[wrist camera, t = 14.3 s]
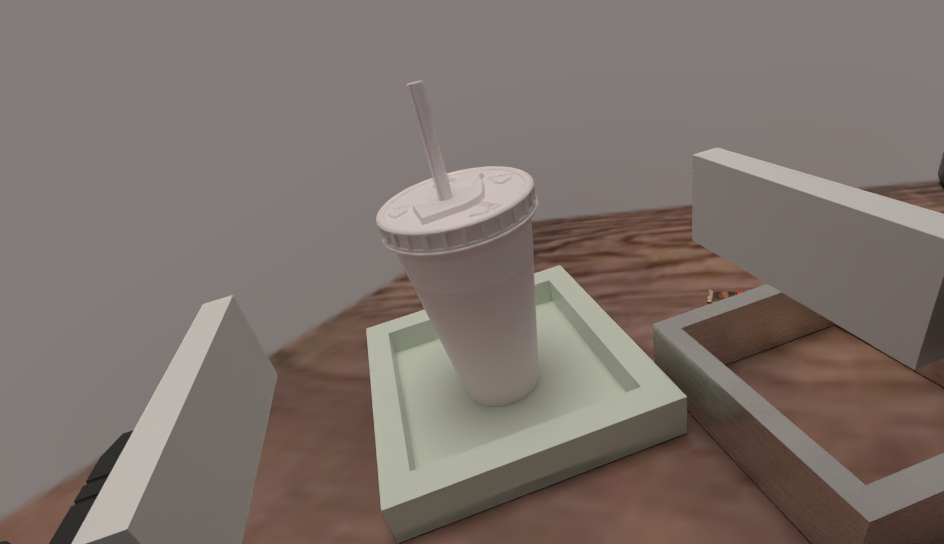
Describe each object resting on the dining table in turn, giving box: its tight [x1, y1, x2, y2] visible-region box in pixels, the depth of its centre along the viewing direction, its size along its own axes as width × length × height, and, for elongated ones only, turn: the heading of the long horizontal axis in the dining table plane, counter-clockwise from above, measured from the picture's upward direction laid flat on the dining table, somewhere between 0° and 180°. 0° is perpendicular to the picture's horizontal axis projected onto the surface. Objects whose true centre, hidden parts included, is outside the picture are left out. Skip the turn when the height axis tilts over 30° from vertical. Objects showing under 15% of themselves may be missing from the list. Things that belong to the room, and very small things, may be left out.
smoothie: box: [376, 81, 539, 407], centre depth 20 cm, size 6×6×14 cm
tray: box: [366, 265, 687, 543], centre depth 23 cm, size 12×12×2 cm
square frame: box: [653, 284, 944, 544], centre depth 17 cm, size 10×10×3 cm
